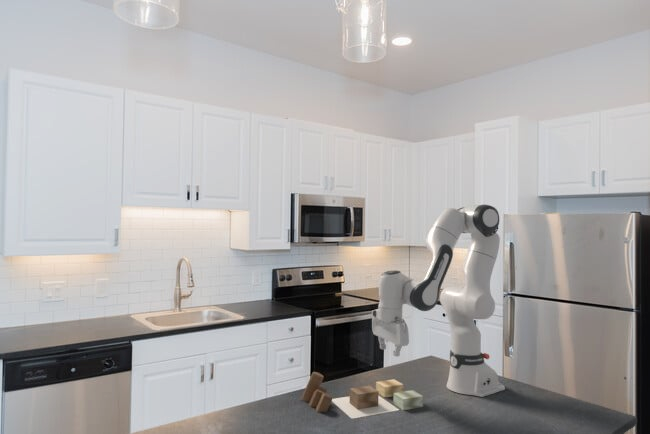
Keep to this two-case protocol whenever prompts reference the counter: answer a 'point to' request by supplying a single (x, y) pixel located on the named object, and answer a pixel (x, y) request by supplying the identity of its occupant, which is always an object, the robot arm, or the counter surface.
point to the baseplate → (354, 413)
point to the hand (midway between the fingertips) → (389, 352)
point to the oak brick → (389, 387)
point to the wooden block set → (316, 393)
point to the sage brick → (408, 400)
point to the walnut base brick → (364, 397)
